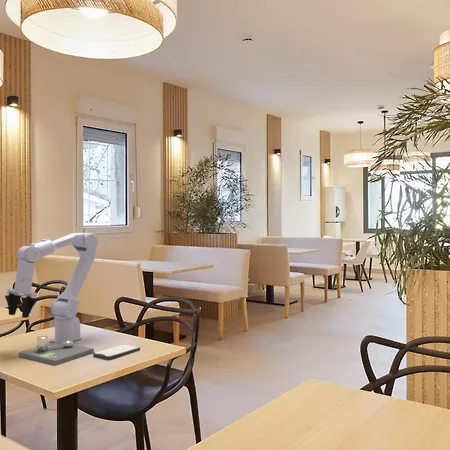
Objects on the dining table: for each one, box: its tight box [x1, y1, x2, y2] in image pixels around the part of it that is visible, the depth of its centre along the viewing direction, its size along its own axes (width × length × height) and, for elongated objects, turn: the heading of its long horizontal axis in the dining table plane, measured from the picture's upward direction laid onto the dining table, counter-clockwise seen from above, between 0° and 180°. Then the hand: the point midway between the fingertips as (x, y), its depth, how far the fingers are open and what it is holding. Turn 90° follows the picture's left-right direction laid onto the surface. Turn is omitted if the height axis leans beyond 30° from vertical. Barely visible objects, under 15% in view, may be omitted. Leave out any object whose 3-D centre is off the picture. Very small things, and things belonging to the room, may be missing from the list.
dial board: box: [18, 342, 95, 366], centre depth 174 cm, size 17×19×2 cm
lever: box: [30, 335, 74, 352], centre depth 175 cm, size 15×4×5 cm, turn 125°
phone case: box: [92, 344, 141, 361], centre depth 175 cm, size 9×2×16 cm
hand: (18, 316), depth 177 cm, fingers open, 7 cm apart
